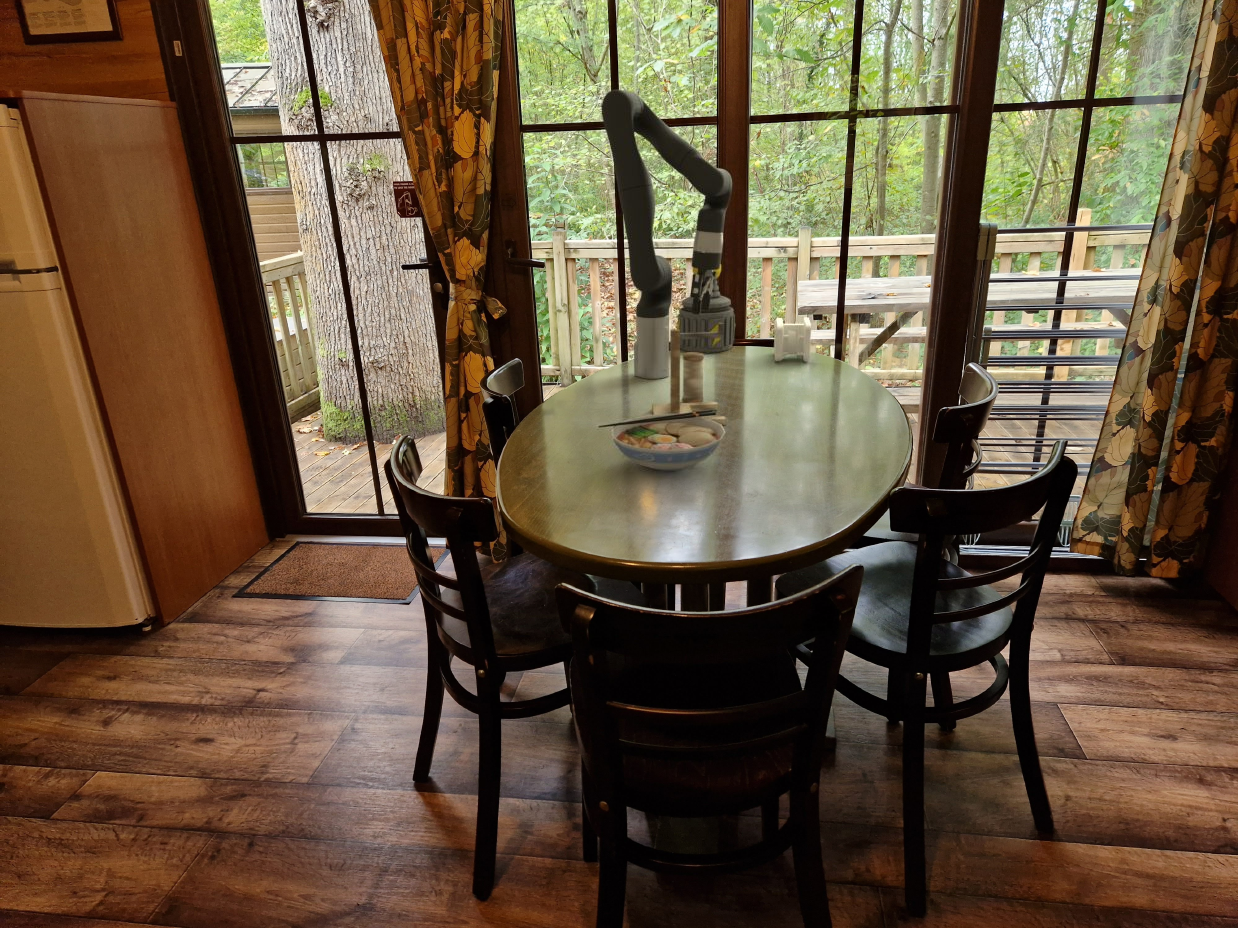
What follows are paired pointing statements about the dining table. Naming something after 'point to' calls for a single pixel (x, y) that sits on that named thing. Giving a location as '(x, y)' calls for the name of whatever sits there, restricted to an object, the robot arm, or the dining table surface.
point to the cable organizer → (792, 339)
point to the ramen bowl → (668, 439)
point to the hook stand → (675, 378)
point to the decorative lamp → (707, 323)
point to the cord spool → (693, 377)
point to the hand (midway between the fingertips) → (700, 312)
